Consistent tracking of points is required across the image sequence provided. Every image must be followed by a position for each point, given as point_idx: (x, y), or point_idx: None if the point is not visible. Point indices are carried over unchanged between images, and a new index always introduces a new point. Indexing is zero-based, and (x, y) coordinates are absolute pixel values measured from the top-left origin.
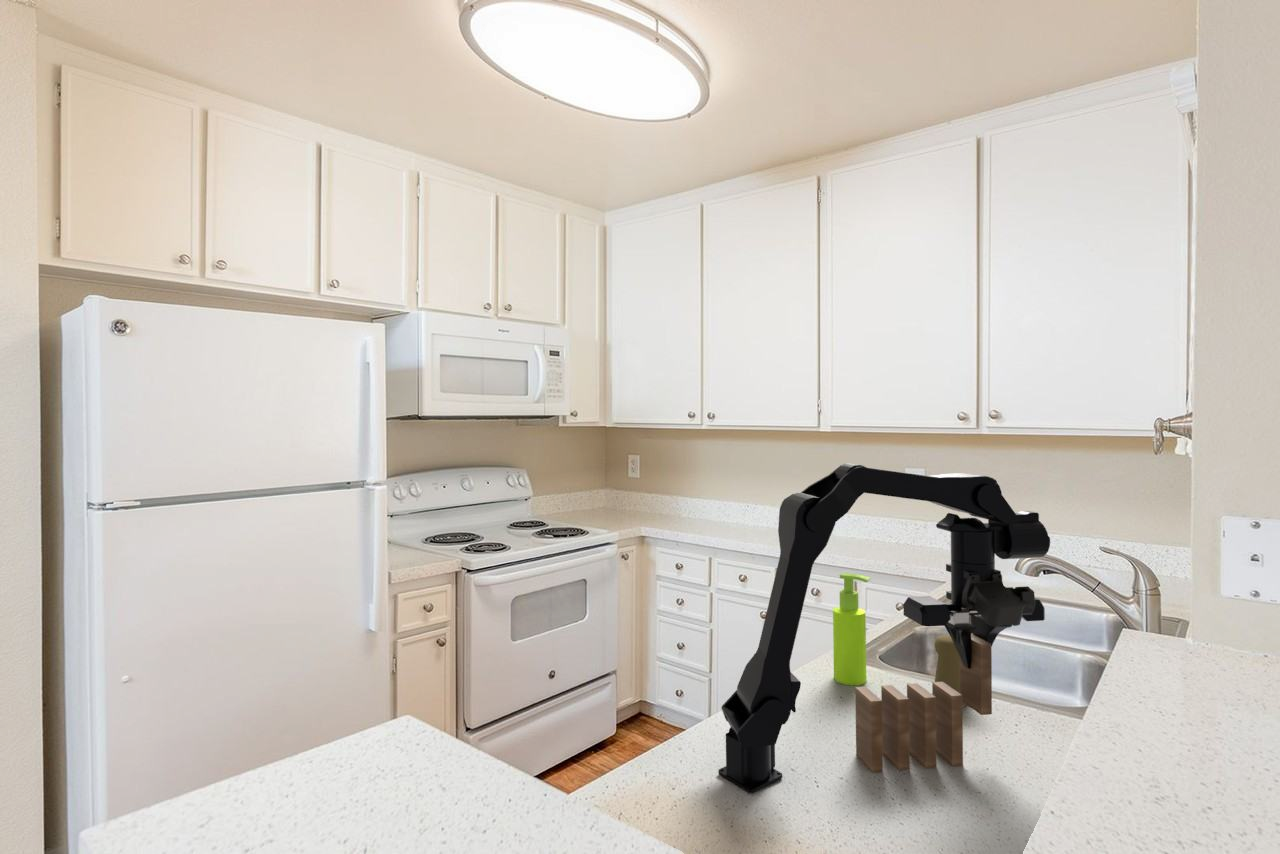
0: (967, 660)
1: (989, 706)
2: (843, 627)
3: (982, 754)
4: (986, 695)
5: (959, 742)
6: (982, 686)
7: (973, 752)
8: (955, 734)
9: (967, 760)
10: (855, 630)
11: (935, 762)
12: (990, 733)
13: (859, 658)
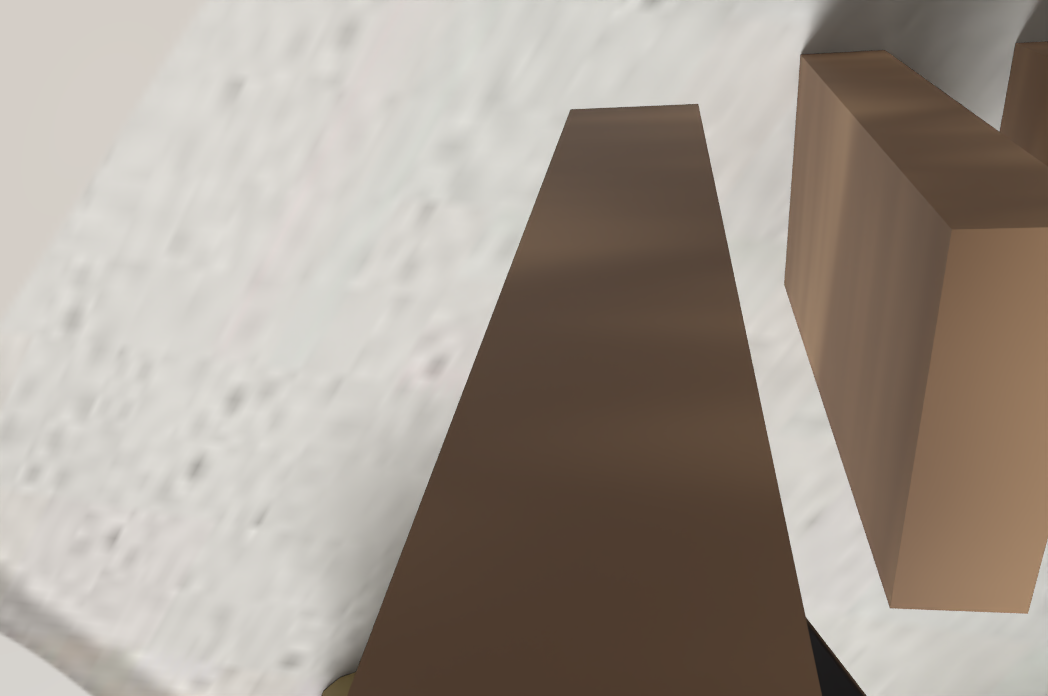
0: (843, 674)
1: (590, 131)
2: None
3: None
4: (626, 167)
5: (861, 86)
6: (694, 207)
7: None
8: (920, 99)
9: (724, 116)
10: None
11: (1039, 47)
12: (385, 405)
13: None
